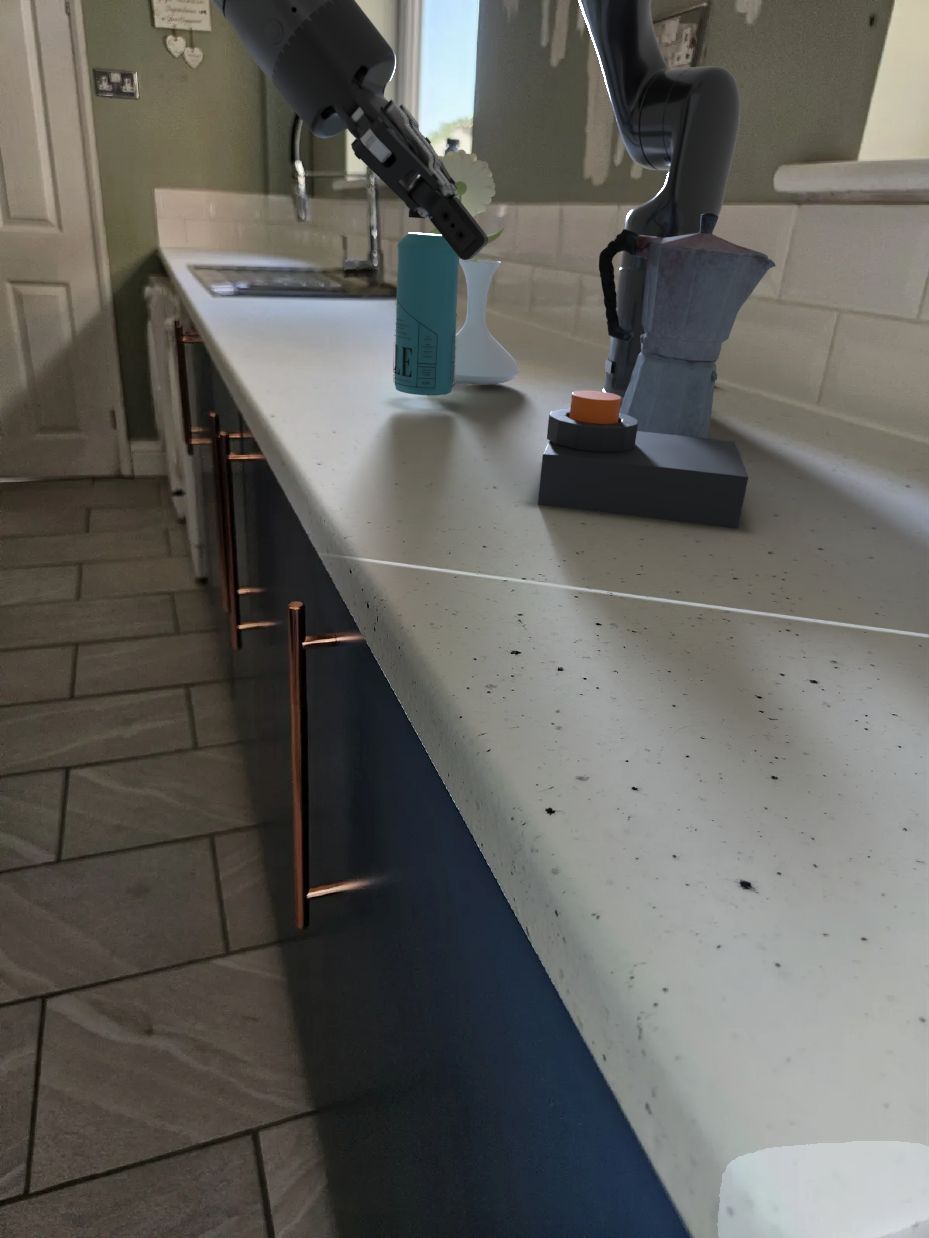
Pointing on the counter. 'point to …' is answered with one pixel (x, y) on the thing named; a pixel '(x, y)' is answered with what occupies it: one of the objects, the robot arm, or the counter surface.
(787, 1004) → the counter surface
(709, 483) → the base
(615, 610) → the counter surface
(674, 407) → the moka pot
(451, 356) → the beverage bottle
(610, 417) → the kettle switch
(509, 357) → the flower in vase
